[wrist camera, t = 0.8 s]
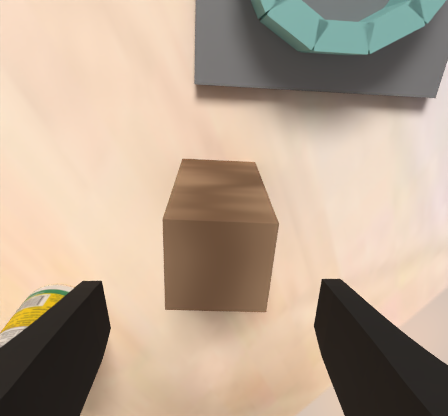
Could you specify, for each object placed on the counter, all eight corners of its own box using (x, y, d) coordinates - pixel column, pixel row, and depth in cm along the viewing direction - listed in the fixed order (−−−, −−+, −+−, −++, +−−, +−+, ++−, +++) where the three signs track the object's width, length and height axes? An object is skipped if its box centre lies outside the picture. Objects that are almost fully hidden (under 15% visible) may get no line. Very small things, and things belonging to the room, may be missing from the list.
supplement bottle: (35, 271, 22) (-80, 407, 14) (110, 296, 23) (47, 435, 15) (21, 324, 24) (-86, 471, 16) (90, 344, 25) (26, 492, 17)
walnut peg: (255, 162, 19) (278, 223, 12) (248, 225, 21) (266, 312, 14) (182, 158, 19) (162, 219, 12) (182, 223, 21) (165, 309, 14)
